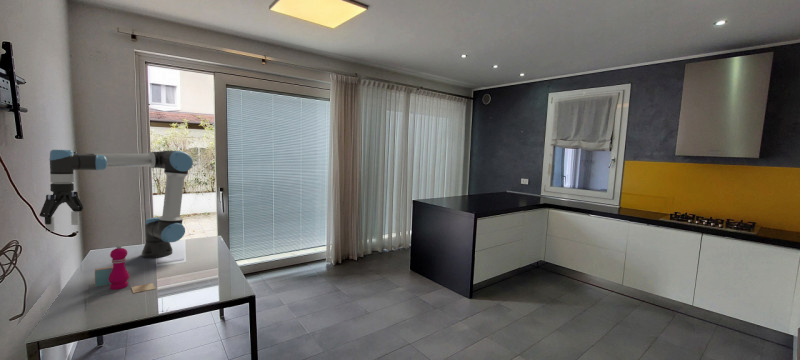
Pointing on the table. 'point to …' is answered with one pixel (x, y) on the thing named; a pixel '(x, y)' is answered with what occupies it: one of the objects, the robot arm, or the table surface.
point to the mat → (104, 290)
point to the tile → (102, 276)
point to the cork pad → (143, 288)
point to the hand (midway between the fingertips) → (63, 227)
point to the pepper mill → (118, 269)
